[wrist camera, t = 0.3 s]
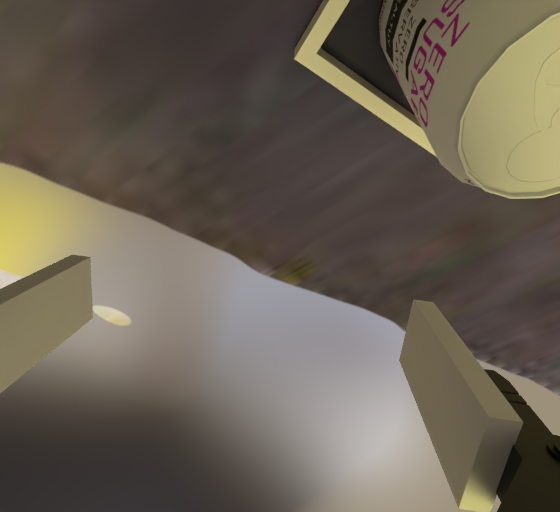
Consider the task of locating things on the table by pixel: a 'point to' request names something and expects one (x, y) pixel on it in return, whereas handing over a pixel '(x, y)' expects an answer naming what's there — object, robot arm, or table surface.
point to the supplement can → (482, 87)
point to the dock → (352, 74)
